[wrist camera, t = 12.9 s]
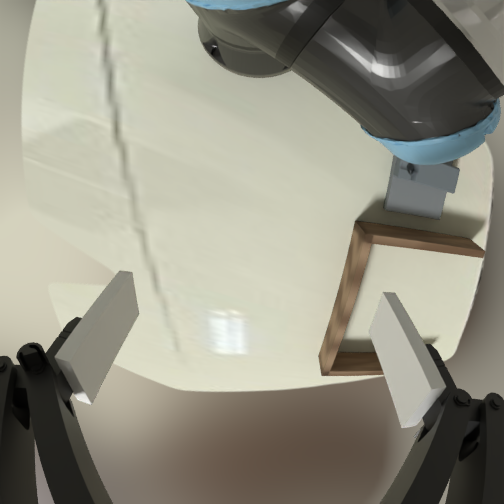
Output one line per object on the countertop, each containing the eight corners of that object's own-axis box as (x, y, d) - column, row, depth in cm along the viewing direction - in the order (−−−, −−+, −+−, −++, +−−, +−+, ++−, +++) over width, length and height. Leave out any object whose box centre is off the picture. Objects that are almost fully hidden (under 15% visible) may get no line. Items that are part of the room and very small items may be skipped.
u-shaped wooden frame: (355, 220, 40) (365, 234, 36) (469, 238, 40) (485, 251, 35) (318, 356, 52) (321, 375, 47) (418, 354, 52) (426, 371, 47)
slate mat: (399, 113, 33) (402, 113, 32) (453, 131, 33) (457, 132, 32) (383, 208, 39) (385, 210, 38) (436, 217, 39) (439, 219, 38)
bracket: (448, 190, 36) (454, 194, 34) (392, 175, 36) (397, 178, 34) (453, 166, 34) (460, 168, 32) (397, 148, 34) (403, 150, 32)
